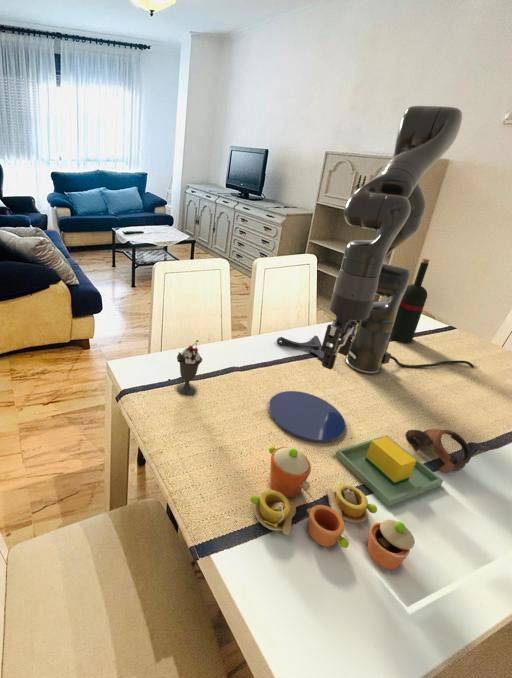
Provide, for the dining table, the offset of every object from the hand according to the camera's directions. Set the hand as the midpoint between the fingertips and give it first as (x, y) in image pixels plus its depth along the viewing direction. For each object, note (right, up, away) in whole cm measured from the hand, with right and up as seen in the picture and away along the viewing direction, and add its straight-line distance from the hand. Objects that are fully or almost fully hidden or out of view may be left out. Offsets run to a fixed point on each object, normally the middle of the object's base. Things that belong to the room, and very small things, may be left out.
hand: (335, 360), depth 84 cm
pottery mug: (+23, -22, +3) cm, 32 cm away
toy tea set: (-8, -27, -13) cm, 31 cm away
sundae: (-31, -12, +20) cm, 39 cm away
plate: (-2, -17, +12) cm, 21 cm away
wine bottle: (+49, -2, +56) cm, 75 cm away
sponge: (+10, -23, -2) cm, 25 cm away
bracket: (+10, -4, +45) cm, 47 cm away
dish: (+10, -23, -2) cm, 26 cm away
